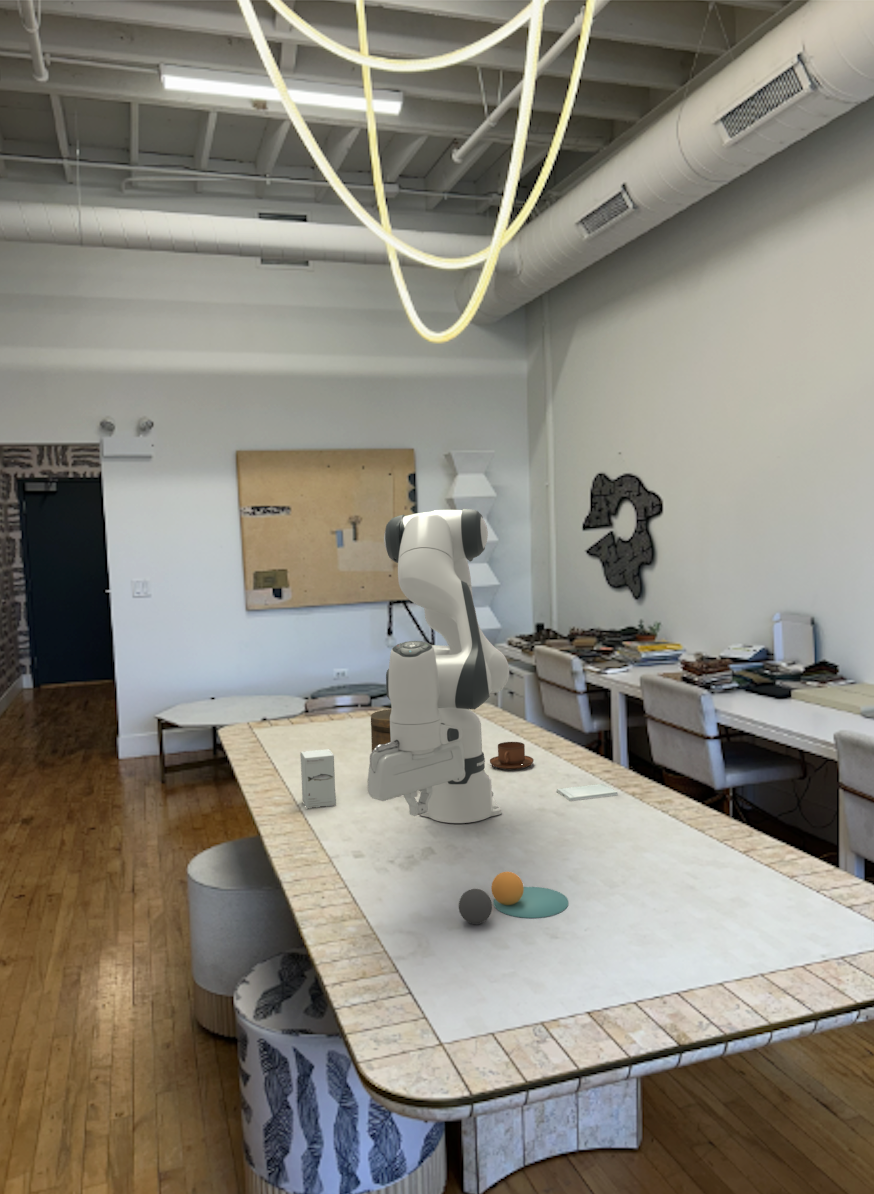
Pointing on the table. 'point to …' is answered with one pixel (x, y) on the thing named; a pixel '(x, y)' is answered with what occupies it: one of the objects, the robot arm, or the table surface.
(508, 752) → the cup and saucer
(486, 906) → the black ball
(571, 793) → the hard drive
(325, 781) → the supplement box
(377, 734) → the wooden container
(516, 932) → the table surface
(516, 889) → the orange ball
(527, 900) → the teal flat disc
